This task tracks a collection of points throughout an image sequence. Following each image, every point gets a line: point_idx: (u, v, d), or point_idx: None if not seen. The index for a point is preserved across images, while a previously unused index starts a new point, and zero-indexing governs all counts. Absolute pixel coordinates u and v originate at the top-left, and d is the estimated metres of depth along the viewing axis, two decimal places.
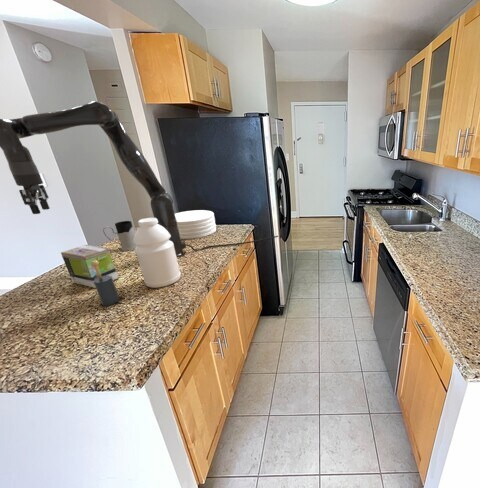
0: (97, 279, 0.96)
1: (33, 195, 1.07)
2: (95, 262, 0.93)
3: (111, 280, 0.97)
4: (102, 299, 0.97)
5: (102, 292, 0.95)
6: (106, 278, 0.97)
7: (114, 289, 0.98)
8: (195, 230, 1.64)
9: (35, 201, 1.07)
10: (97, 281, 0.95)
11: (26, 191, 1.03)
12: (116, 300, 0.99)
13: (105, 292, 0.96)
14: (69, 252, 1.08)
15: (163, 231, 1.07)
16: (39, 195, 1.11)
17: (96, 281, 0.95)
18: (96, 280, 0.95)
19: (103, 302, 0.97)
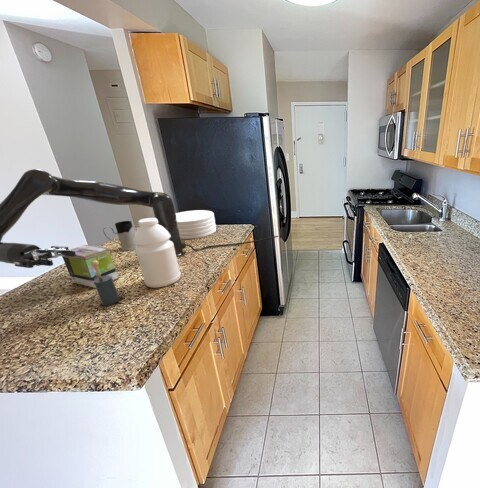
0: (97, 279, 0.96)
1: None
2: (95, 262, 0.93)
3: (111, 280, 0.97)
4: (102, 299, 0.97)
5: (102, 292, 0.95)
6: (106, 278, 0.97)
7: (114, 289, 0.98)
8: (195, 230, 1.64)
9: (35, 258, 0.89)
10: (97, 281, 0.95)
11: (14, 260, 0.87)
12: (116, 300, 0.99)
13: (105, 292, 0.96)
14: None
15: (163, 231, 1.07)
16: (45, 252, 0.94)
17: (96, 281, 0.95)
18: (96, 280, 0.95)
19: (103, 302, 0.97)
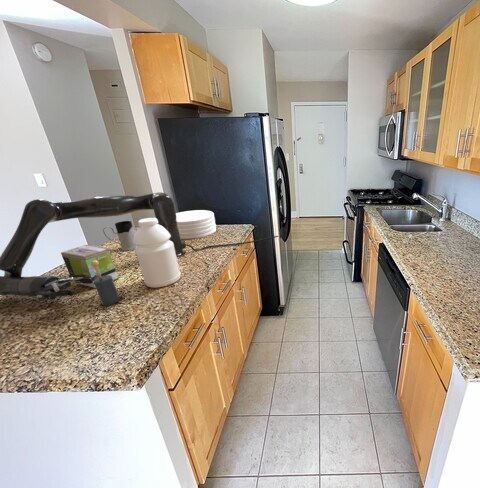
0: (97, 279, 0.96)
1: None
2: (95, 262, 0.93)
3: (111, 280, 0.97)
4: (102, 299, 0.97)
5: (102, 292, 0.95)
6: (106, 278, 0.97)
7: (114, 289, 0.98)
8: (195, 230, 1.64)
9: (56, 289, 0.93)
10: (97, 281, 0.95)
11: (37, 294, 0.91)
12: (116, 300, 0.99)
13: (105, 292, 0.96)
14: (69, 252, 1.08)
15: (163, 231, 1.07)
16: (65, 282, 0.98)
17: (96, 281, 0.95)
18: (96, 280, 0.95)
19: (103, 302, 0.97)
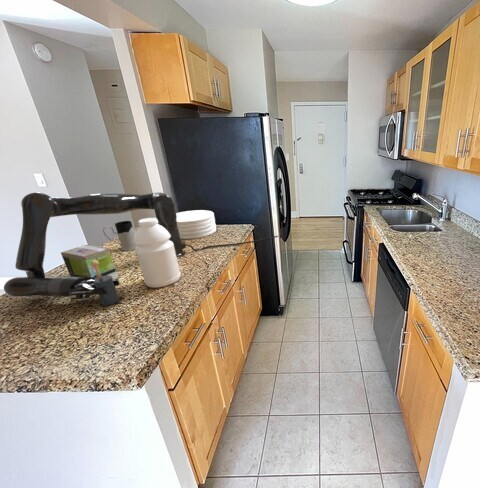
0: (97, 279, 0.96)
1: (84, 289, 0.95)
2: (95, 262, 0.93)
3: (111, 280, 0.97)
4: (102, 299, 0.97)
5: None
6: (106, 278, 0.97)
7: (114, 289, 0.98)
8: (195, 230, 1.64)
9: (90, 288, 0.94)
10: (97, 281, 0.95)
11: (70, 294, 0.91)
12: (116, 300, 0.99)
13: None
14: (69, 252, 1.08)
15: (163, 231, 1.07)
16: (91, 284, 0.97)
17: (96, 281, 0.95)
18: (96, 280, 0.95)
19: (103, 302, 0.97)
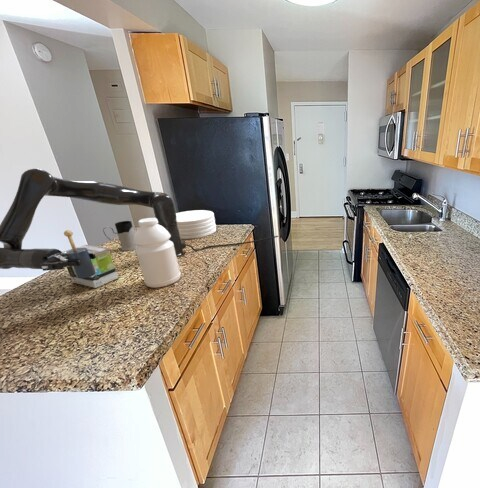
0: (71, 251, 0.93)
1: (57, 260, 0.92)
2: (68, 232, 0.90)
3: (86, 252, 0.94)
4: (76, 271, 0.93)
5: None
6: (81, 250, 0.93)
7: (89, 262, 0.95)
8: (195, 230, 1.64)
9: (63, 260, 0.91)
10: (71, 252, 0.92)
11: (42, 265, 0.88)
12: (92, 274, 0.96)
13: None
14: None
15: (163, 231, 1.07)
16: (66, 256, 0.94)
17: (70, 252, 0.91)
18: (70, 251, 0.92)
19: (78, 275, 0.94)
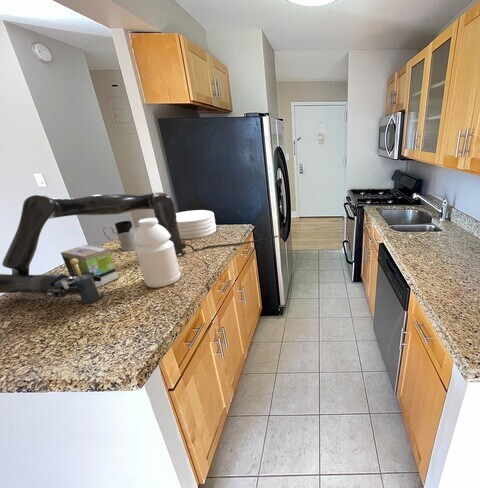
0: (77, 277, 0.97)
1: None
2: (75, 260, 0.94)
3: (91, 278, 0.98)
4: (82, 297, 0.98)
5: None
6: (86, 276, 0.98)
7: (94, 287, 1.00)
8: (195, 230, 1.64)
9: (65, 287, 0.94)
10: (77, 279, 0.96)
11: (47, 291, 0.92)
12: (97, 298, 1.01)
13: (85, 290, 0.97)
14: (69, 252, 1.08)
15: (163, 231, 1.07)
16: None
17: (76, 279, 0.96)
18: (76, 278, 0.96)
19: (83, 300, 0.98)
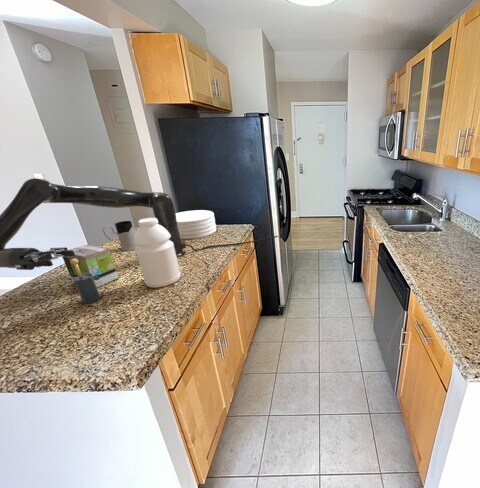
0: (77, 277, 0.97)
1: None
2: (75, 260, 0.94)
3: (91, 278, 0.98)
4: (82, 297, 0.98)
5: (81, 290, 0.97)
6: (86, 276, 0.98)
7: (94, 287, 1.00)
8: (195, 230, 1.64)
9: (35, 260, 0.91)
10: (77, 279, 0.96)
11: (15, 264, 0.89)
12: (97, 298, 1.01)
13: (85, 290, 0.97)
14: None
15: (163, 231, 1.07)
16: (45, 254, 0.95)
17: (76, 279, 0.96)
18: (76, 278, 0.96)
19: (83, 300, 0.98)
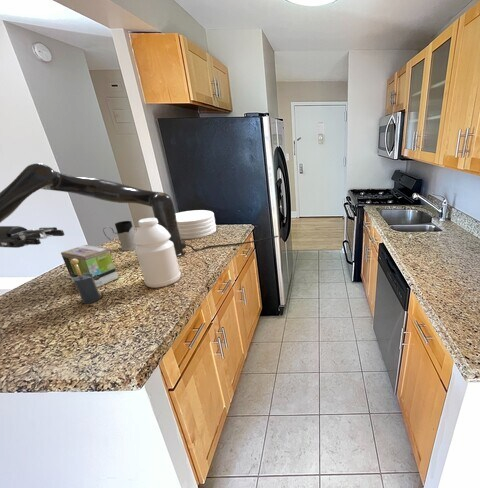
0: (77, 277, 0.97)
1: None
2: (75, 260, 0.94)
3: (91, 278, 0.98)
4: (82, 297, 0.98)
5: (81, 290, 0.97)
6: (86, 276, 0.98)
7: (94, 287, 1.00)
8: (195, 230, 1.64)
9: (22, 238, 0.88)
10: (77, 279, 0.96)
11: (1, 241, 0.86)
12: (97, 298, 1.01)
13: (85, 290, 0.97)
14: (69, 252, 1.08)
15: (163, 231, 1.07)
16: (33, 233, 0.92)
17: (76, 279, 0.96)
18: (76, 278, 0.96)
19: (83, 300, 0.98)
